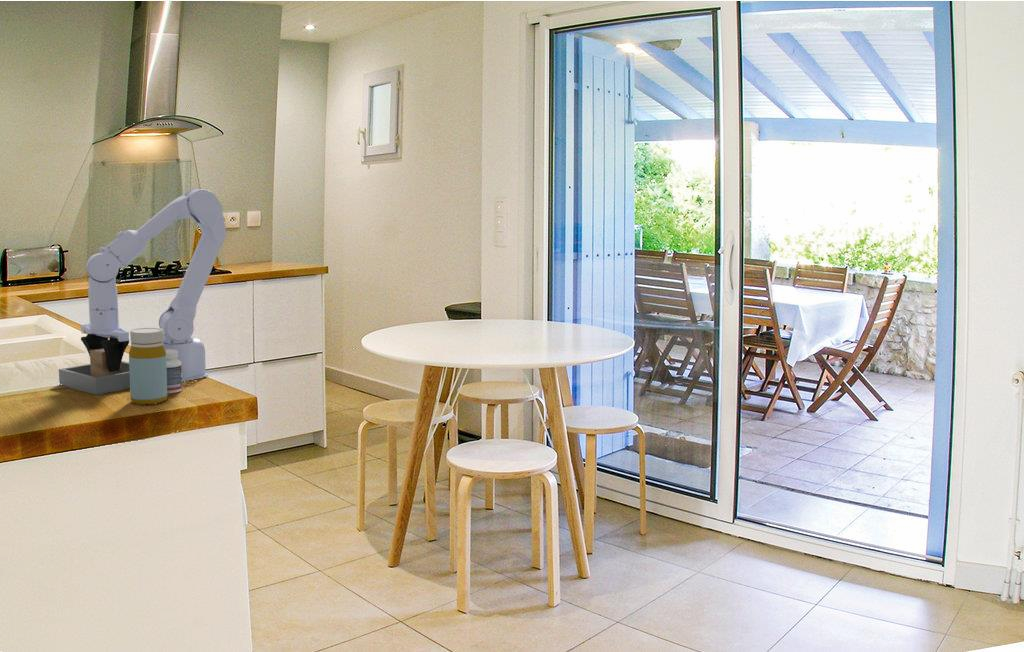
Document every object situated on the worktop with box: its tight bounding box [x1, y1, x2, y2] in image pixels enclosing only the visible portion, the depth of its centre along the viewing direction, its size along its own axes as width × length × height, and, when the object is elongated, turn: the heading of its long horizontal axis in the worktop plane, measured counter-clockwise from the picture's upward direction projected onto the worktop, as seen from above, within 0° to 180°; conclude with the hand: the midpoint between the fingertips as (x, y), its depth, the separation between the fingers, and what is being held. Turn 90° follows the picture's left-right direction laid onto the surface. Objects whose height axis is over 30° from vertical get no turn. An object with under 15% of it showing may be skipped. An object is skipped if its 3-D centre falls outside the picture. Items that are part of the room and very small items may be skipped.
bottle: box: [128, 327, 168, 406], centre depth 172 cm, size 7×7×15 cm
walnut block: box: [89, 348, 122, 378], centre depth 185 cm, size 4×4×7 cm
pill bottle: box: [165, 349, 183, 394], centre depth 181 cm, size 5×5×9 cm
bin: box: [58, 360, 130, 396], centre depth 185 cm, size 14×14×4 cm
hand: (106, 369), depth 185 cm, fingers open, 5 cm apart
